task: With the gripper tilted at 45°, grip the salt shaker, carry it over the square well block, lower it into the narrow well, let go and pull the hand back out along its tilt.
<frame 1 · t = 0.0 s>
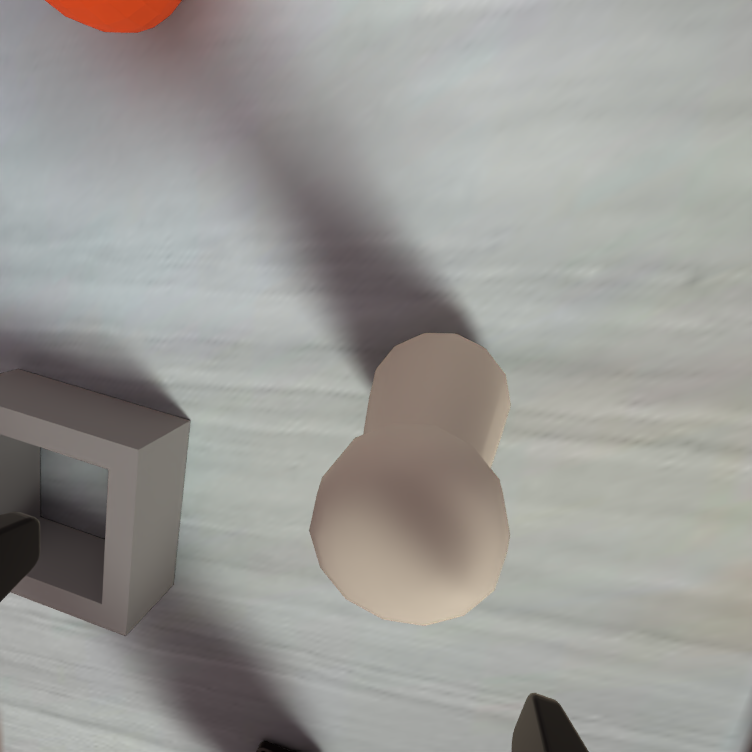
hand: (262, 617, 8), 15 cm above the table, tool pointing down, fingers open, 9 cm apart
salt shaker: (442, 384, 21), on the table
well block: (98, 479, 27), on the table
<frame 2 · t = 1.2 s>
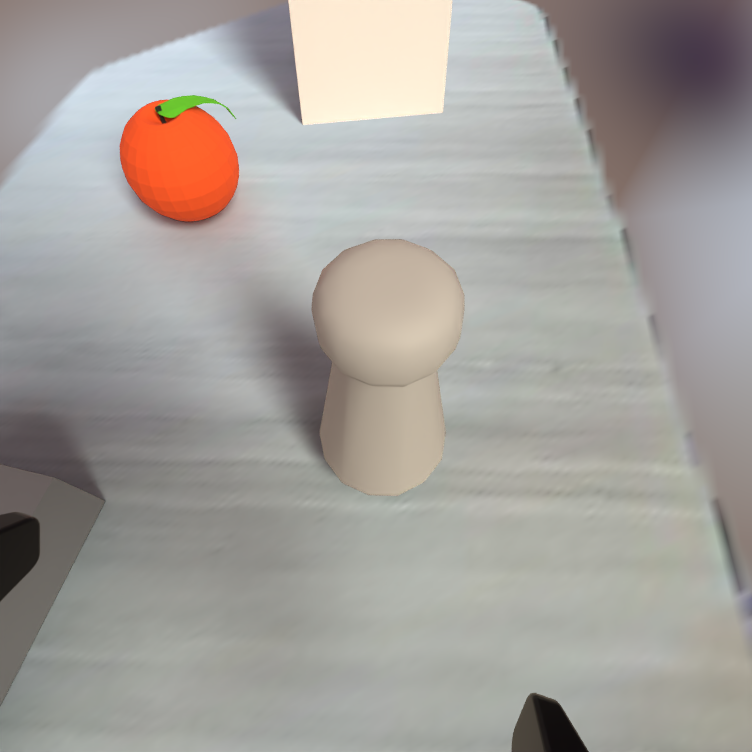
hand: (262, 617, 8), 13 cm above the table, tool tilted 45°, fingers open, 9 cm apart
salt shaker: (382, 451, 23), on the table
clementine: (207, 206, 32), on the table
milk: (363, 80, 40), on the table
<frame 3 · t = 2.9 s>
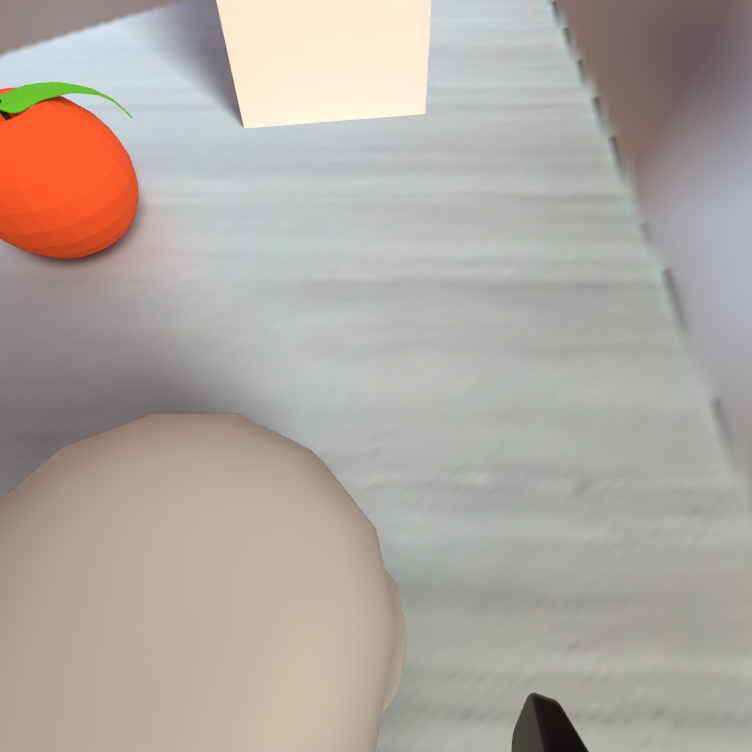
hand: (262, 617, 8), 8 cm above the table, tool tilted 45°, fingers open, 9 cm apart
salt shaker: (312, 633, 15), on the table
clementine: (104, 235, 24), on the table
milk: (327, 73, 32), on the table
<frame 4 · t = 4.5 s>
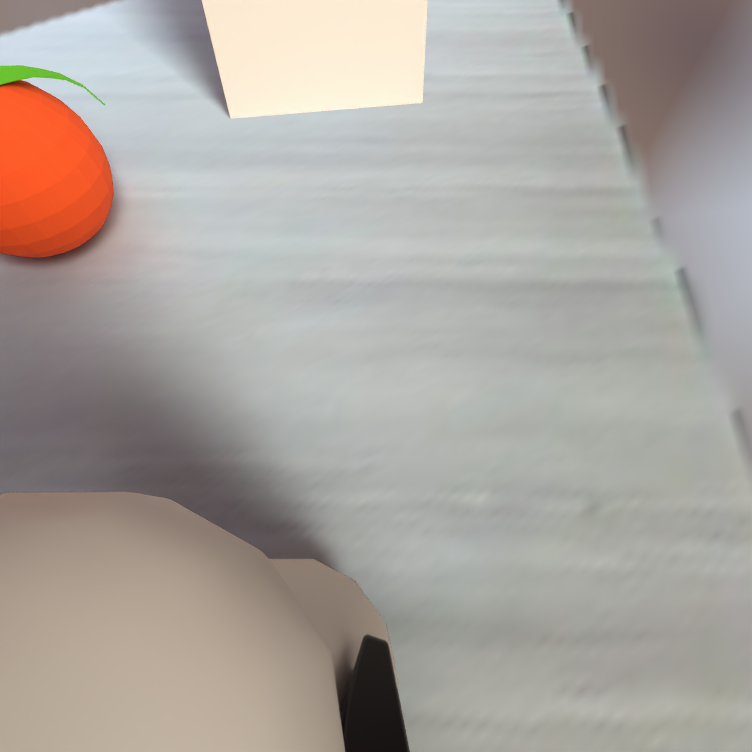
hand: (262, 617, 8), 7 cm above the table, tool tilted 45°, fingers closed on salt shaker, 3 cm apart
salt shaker: (295, 673, 13), on the table, touching gripper
clementine: (79, 232, 22), on the table
milk: (319, 61, 30), on the table
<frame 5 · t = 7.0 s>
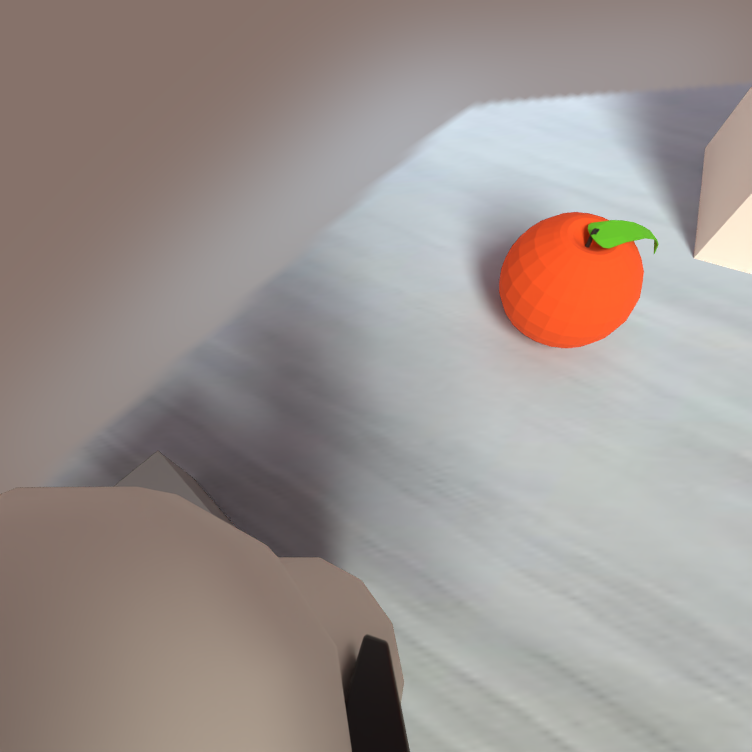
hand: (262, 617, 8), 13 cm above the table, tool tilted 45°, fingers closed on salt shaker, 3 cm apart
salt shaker: (301, 672, 13), point 6 cm above the table, touching gripper
clementine: (552, 320, 27), on the table
well block: (159, 663, 19), on the table
when the fingers open (8 cm above the table, at t = 9.9 s): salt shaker stays where it is, resting in well block.
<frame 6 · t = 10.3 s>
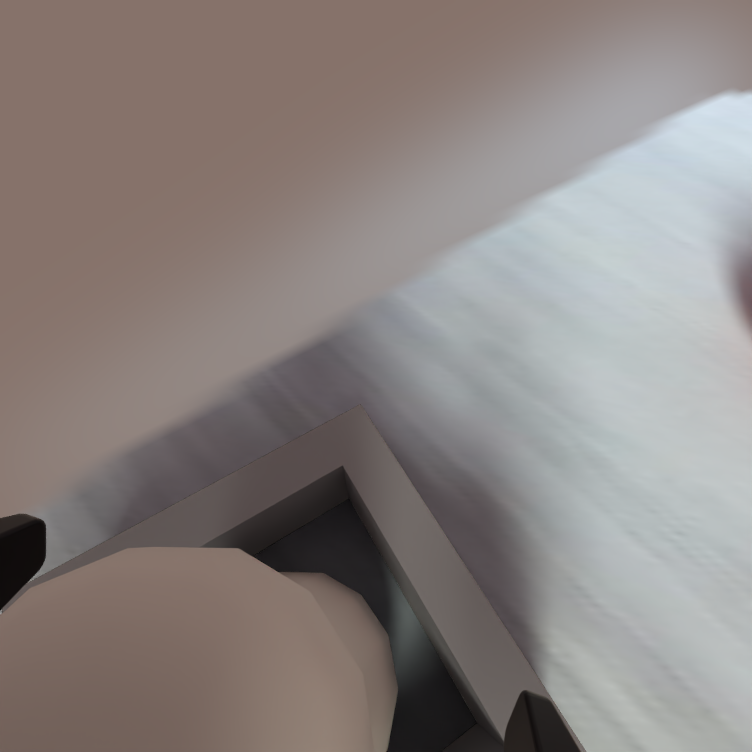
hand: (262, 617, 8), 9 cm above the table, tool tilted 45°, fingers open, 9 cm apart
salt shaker: (302, 677, 15), resting in well block
well block: (301, 670, 15), on the table
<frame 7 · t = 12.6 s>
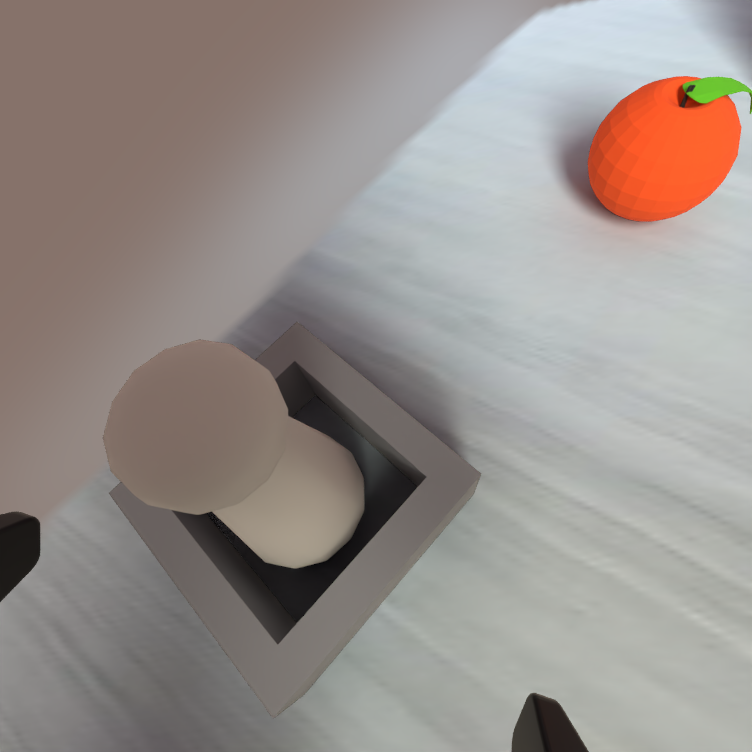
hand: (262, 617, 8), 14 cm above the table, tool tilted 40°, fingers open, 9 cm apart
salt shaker: (313, 506, 22), resting in well block
clementine: (640, 203, 28), on the table
well block: (311, 501, 22), on the table
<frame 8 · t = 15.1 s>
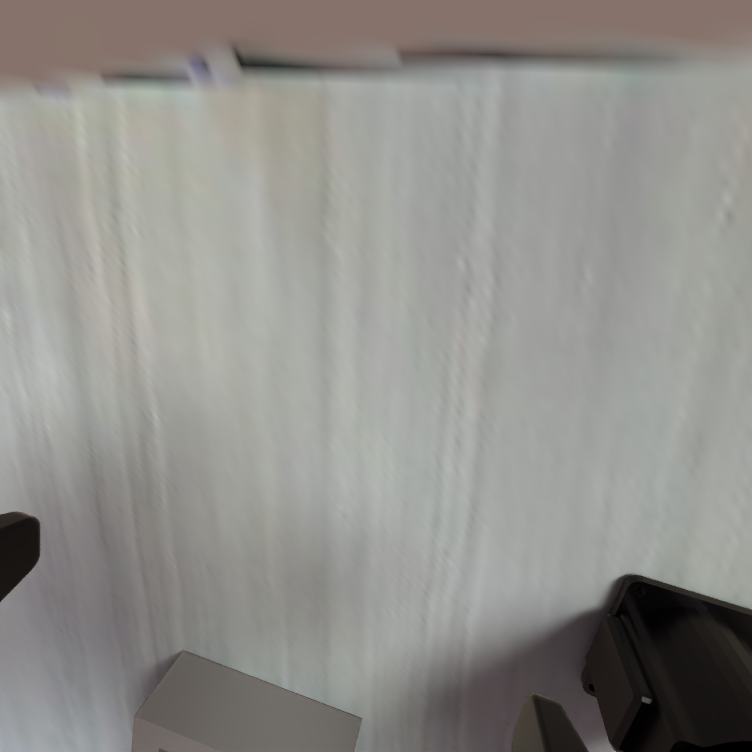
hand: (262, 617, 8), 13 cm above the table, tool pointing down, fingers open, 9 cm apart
well block: (256, 751, 27), on the table
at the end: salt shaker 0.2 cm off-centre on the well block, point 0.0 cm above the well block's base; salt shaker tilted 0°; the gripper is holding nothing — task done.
